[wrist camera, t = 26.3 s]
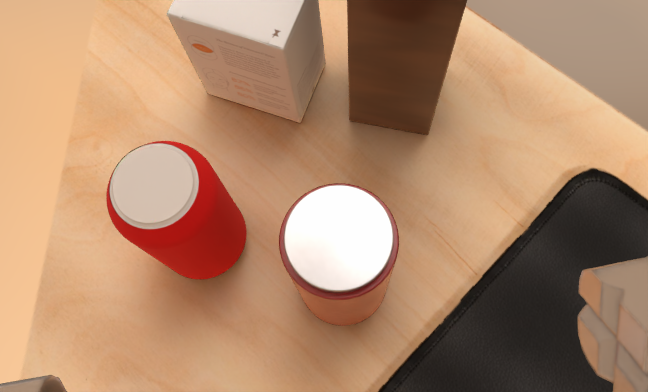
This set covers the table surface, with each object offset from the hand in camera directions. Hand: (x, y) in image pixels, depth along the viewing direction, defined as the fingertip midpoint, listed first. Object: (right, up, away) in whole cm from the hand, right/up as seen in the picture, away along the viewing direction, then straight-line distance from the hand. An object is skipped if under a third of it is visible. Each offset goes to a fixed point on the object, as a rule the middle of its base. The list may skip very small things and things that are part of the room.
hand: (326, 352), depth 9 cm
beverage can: (-8, -1, +33) cm, 34 cm away
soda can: (+1, -3, +32) cm, 32 cm away
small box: (-5, +11, +37) cm, 39 cm away
